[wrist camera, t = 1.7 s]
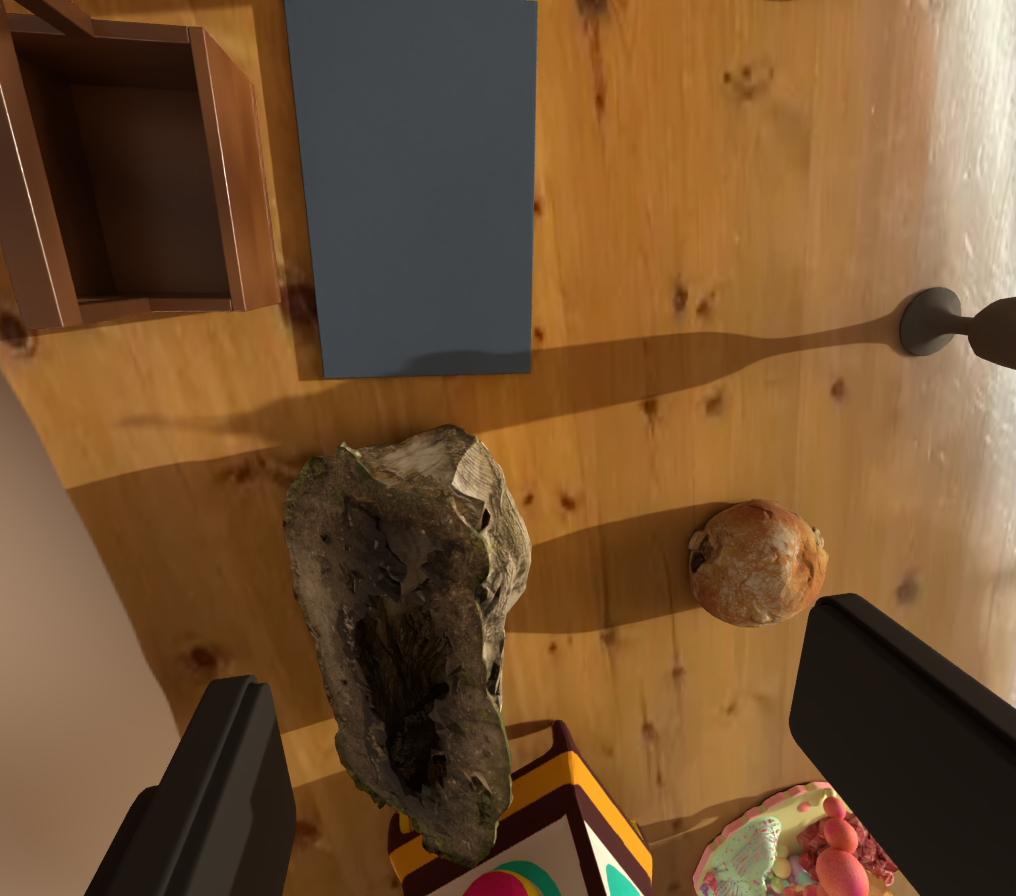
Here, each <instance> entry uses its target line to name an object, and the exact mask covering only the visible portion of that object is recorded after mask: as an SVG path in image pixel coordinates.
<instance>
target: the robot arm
mask: <svg viewBox="0 0 1016 896" xmlns="http://www.w3.org/2000/svg"><path fill="white" fill-rule="evenodd" d="M789 727H790V731H791V734H792V736H793V738H794V740H795V741H796V743H797V744H798V746H799V747H800V748H801V749H802V751H803V752H804V753H805V754H806V755H807V757H808V758H809V759H810V760H811V762H812V763H813V764H814V765H815V767H816V768H817V769H818V770H819V771H820V773H821V774H822V775H823V776H824V778H825V779H826V780H827V781H828V783H829V784H830V785H831V786H832V788H833V789H834V790H835V791H836V792H837V794H838V795H839V796H840V797H841V799H842V800H843V801H844V802H845V804H846V805H847V806H848V807H849V808H850V810H851V811H852V812H853V813H854V815H855V816H856V817H857V818H858V820H859V821H860V822H861V823H862V824H863V826H864V827H865V828H866V829H867V831H868V832H869V833H870V834H871V836H872V837H873V838H874V839H875V840H876V842H877V843H878V844H879V845H880V847H881V848H882V849H883V850H884V852H885V853H886V854H887V855H888V856H889V858H890V859H891V860H892V861H893V863H894V864H895V865H896V866H897V868H898V869H899V870H900V871H901V872H902V874H903V875H904V876H905V877H906V879H907V880H908V881H909V882H910V884H911V885H912V886H913V887H914V889H915V890H916V891H917V892H918V893H919V895H920V896H1016V709H1015V708H1014V707H1012V706H1011V705H1010V704H1008V703H1007V702H1005V701H1004V700H1003V699H1001V698H1000V697H999V696H997V695H996V694H994V693H993V692H992V691H990V690H989V689H988V688H986V687H985V686H983V685H982V684H981V683H979V682H978V681H977V680H975V679H974V678H972V677H971V676H970V675H968V674H967V673H966V672H964V671H963V670H961V669H960V668H959V667H957V666H956V665H954V664H953V663H952V662H950V661H949V660H948V659H946V658H945V657H943V656H942V655H941V654H939V653H938V652H937V651H935V650H934V649H932V648H931V647H930V646H928V645H927V644H926V643H924V642H923V641H921V640H920V639H919V638H917V637H916V636H915V635H913V634H912V633H910V632H909V631H908V630H906V629H905V628H904V627H902V626H901V625H899V624H898V623H897V622H895V621H894V620H893V619H891V618H890V617H888V616H887V615H886V614H884V613H883V612H882V611H880V610H879V609H877V608H876V607H875V606H873V605H872V604H871V603H869V602H868V601H866V600H865V599H864V598H862V597H861V596H859V595H857V594H853V593H847V594H840V595H832V596H825V597H821V598H819V599H818V600H817V601H816V604H815V607H813V608H812V609H811V610H810V612H809V616H808V622H807V627H806V632H805V637H804V643H803V648H802V653H801V659H800V664H799V669H798V674H797V680H796V685H795V690H794V695H793V701H792V706H791V711H790V716H789ZM295 830H296V805H295V800H294V796H293V791H292V786H291V782H290V777H289V773H288V768H287V763H286V759H285V754H284V750H283V745H282V740H281V736H280V731H279V726H278V722H277V717H276V713H275V708H274V703H273V699H272V694H271V690H270V686H269V684H268V683H260V684H258V682H257V679H256V677H255V676H254V675H245V676H237V677H230V678H223V679H215V680H213V681H212V682H210V684H209V685H208V687H207V689H206V691H205V693H204V695H203V697H202V699H201V701H200V703H199V705H198V707H197V709H196V711H195V713H194V715H193V717H192V719H191V721H190V723H189V725H188V727H187V729H186V731H185V733H184V735H183V737H182V739H181V741H180V743H179V745H178V747H177V749H176V751H175V753H174V755H173V757H172V759H171V761H170V763H169V765H168V767H167V769H166V771H165V773H164V776H163V778H162V779H161V782H160V783H159V785H157V786H152V787H148V788H146V789H145V790H143V792H141V793H140V794H139V795H138V797H137V798H136V800H135V801H134V803H133V804H132V806H131V807H130V809H129V811H128V813H127V815H126V817H125V819H124V821H123V822H122V824H121V826H120V828H119V830H118V832H117V834H116V836H115V838H114V839H113V842H112V843H111V845H110V847H109V849H108V851H107V853H106V855H105V857H104V858H103V860H102V862H101V864H100V866H99V868H98V870H97V872H96V874H95V876H94V877H93V879H92V881H91V883H90V885H89V887H88V889H87V891H86V892H85V894H84V896H282V893H283V888H284V883H285V879H286V874H287V869H288V864H289V860H290V855H291V850H292V845H293V841H294V836H295Z"/></svg>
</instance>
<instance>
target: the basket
mask: <svg viewBox="0 0 1016 896" xmlns="http://www.w3.org/2000/svg"><path fill="white" fill-rule="evenodd" d="M14 1H16V2H17V3H19V4H20V5H22V6H23V7H25V8H26V9H28V10H29V11H31V12H32V13H34V14H35V15H28V14H15V13H6V12H5V8H4V4H3V0H0V244H1V248H2V251H3V255H4V258H5V262H6V265H7V269H8V272H9V276H10V279H11V283H12V286H13V290H14V293H15V297H16V300H17V304H18V307H19V311H20V314H21V318H22V321H23V325H24V327H25V328H27V329H62V328H68V327H74V326H80V325H84V324H90V323H96V322H102V321H108V320H114V319H120V318H126V317H132V316H138V315H144V314H150V313H151V312H232V311H234V312H245V311H249V310H253V309H257V308H261V307H265V306H269V305H274V304H278V303H281V295H280V287H279V280H278V272H277V264H276V256H275V248H274V241H273V233H272V225H271V217H270V210H269V202H268V194H267V186H266V178H265V171H264V163H263V155H262V147H261V140H260V132H259V124H258V116H257V108H256V101H255V93H254V86H253V84H252V83H251V82H250V81H249V80H248V78H247V77H246V76H245V75H244V74H243V73H242V72H241V70H240V69H239V68H238V67H237V66H236V65H235V64H234V62H233V61H232V60H231V59H230V58H229V57H228V56H227V54H226V53H225V52H224V51H223V50H222V49H221V48H220V46H219V45H218V44H217V43H216V42H215V41H214V40H213V38H212V37H211V36H210V35H209V34H208V33H207V32H206V30H205V29H204V28H202V27H186V26H177V25H163V24H150V23H136V22H123V21H109V20H96V19H91V18H90V16H88V15H87V14H86V13H84V12H83V11H82V10H81V9H79V8H78V7H77V6H75V5H74V4H73V3H72V2H70V1H69V0H14Z"/></svg>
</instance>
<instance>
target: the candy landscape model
mask: <svg viewBox="0 0 1016 896" xmlns="http://www.w3.org/2000/svg"><path fill="white" fill-rule="evenodd" d="M897 870H899V869H898V868H897V866H896V865H895V864H894V863H893V861H892V860H891V859H890V858H889V856H888V855H887V854H886V853H885V852H884V850H883V849H882V848H881V847H880V845H879V844H878V843H877V842H876V840H875V839H874V838H873V837H872V836H871V834H870V833H869V832H868V831H867V829H866V828H865V827H864V826H863V824H862V823H861V822H860V821H859V820H858V818H857V817H856V816H855V815H854V813H853V812H852V811H851V810H850V808H849V807H848V806H847V805H846V804H845V802H844V801H843V800H842V799H841V797H840V796H839V795H838V794H837V792H836V791H835V790H834V789H833V788H832V786H831V785H830V784H829V783H824V782H811V783H809V784H807V785H796V786H794V787H792V788H791V789H788V790H787V791H785V792H779V793H777V794H776V795H774V796H772V797H770V798H769V799H767V800H765V801H764V802H763V803H762V805H760V806H759V807H753V808H752V809H750V810H748V811H746V812H745V813H744V815H743V816H742V817H740V818H738V819H737V820H735V821H733V822H732V823H730V824H729V825H727V826H725V827H724V829H723V831H722V833H721V835H719V836H717V837H716V838H715V839H714V841H713V842H712V843H710V844H708V845H707V847H706V849H705V851H704V853H703V855H702V858H701V860H700V862H699V864H698V867H697V869H696V871H695V873H694V876H693V882H694V888H695V891H696V893H697V895H698V896H893V894H892V893H891V892H890V890H889V889H888V887H887V886H889V885H891V884H892V883H893V882H894V877H893V876H894V875H893V872H896V871H897Z"/></svg>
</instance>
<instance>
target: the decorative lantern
mask: <svg viewBox="0 0 1016 896" xmlns="http://www.w3.org/2000/svg"><path fill="white" fill-rule="evenodd" d="M551 729H552V738H553V744H552V747H551V749H550V750H549V751H548V752H547V753H546V754H545V755H543V756H542V757H540V758H538V759H537V760H535V761H533V762H531V763H530V764H528V765H526V766H524V767H523V768H521V769H519V770H517V771H516V772H514V773H512V774H511V775H510V776H511V779H512V782H513V783H512V788H511V791H512V796H513V801H512V803H511V805H510V806H509V808H508V809H507V810H506V811H505V812H504V813H503V814H502V815H501V816H500V818H499V819H498V822H499V825H498V827H497V828H496V830H497V838H496V841H495V844H494V847H491V849H490V853H489V855H487V856H486V858H485V859H483V860H482V861H479V862H478V864H477V866H476V867H473V868H469V867H466V866H463V865H460V864H457V863H454V862H451V861H450V860H448V859H442V858H441V857H439V856H438V855H436V854H434V853H431V854H430V853H428V852H427V851H426V850H425V849H424V848H423V846H422V835H421V834H420V833H418V832H416V831H415V830H414V831H412V832H411V830H410V822H409V818H408V816H407V815H404V814H402V813H401V812H400V811H398V812H396V813H395V814H394V815H393V816H392V818H391V821H390V824H389V830H388V848H387V850H388V855H389V858H390V860H391V863H392V866H393V868H394V870H395V872H396V874H397V876H398V878H399V880H400V882H401V884H402V888H403V892H404V896H653V893H652V887H651V882H652V854H651V850H650V847H649V845H648V842H647V840H646V838H645V835H644V833H643V831H642V829H641V828H640V826H639V825H638V824H637V823H636V822H635V821H633V820H628V819H627V817H626V816H625V815H624V813H623V812H622V810H621V809H620V808H619V806H618V805H617V804H616V802H615V801H614V800H613V798H612V797H611V795H610V794H609V793H608V791H607V790H606V789H605V787H604V786H603V785H602V783H601V782H600V780H599V779H598V778H597V776H596V775H595V774H594V772H593V771H592V770H591V768H590V767H589V765H588V764H587V763H586V761H585V760H584V759H583V757H582V756H581V754H580V752H579V751H578V749H577V747H576V746H575V743H574V741H573V739H572V737H571V734H570V732H569V730H568V728H567V726H566V724H565V723H564V722H563V721H562V720H555V721H554V722H553V723H552V727H551ZM518 784H519V785H518Z"/></svg>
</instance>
